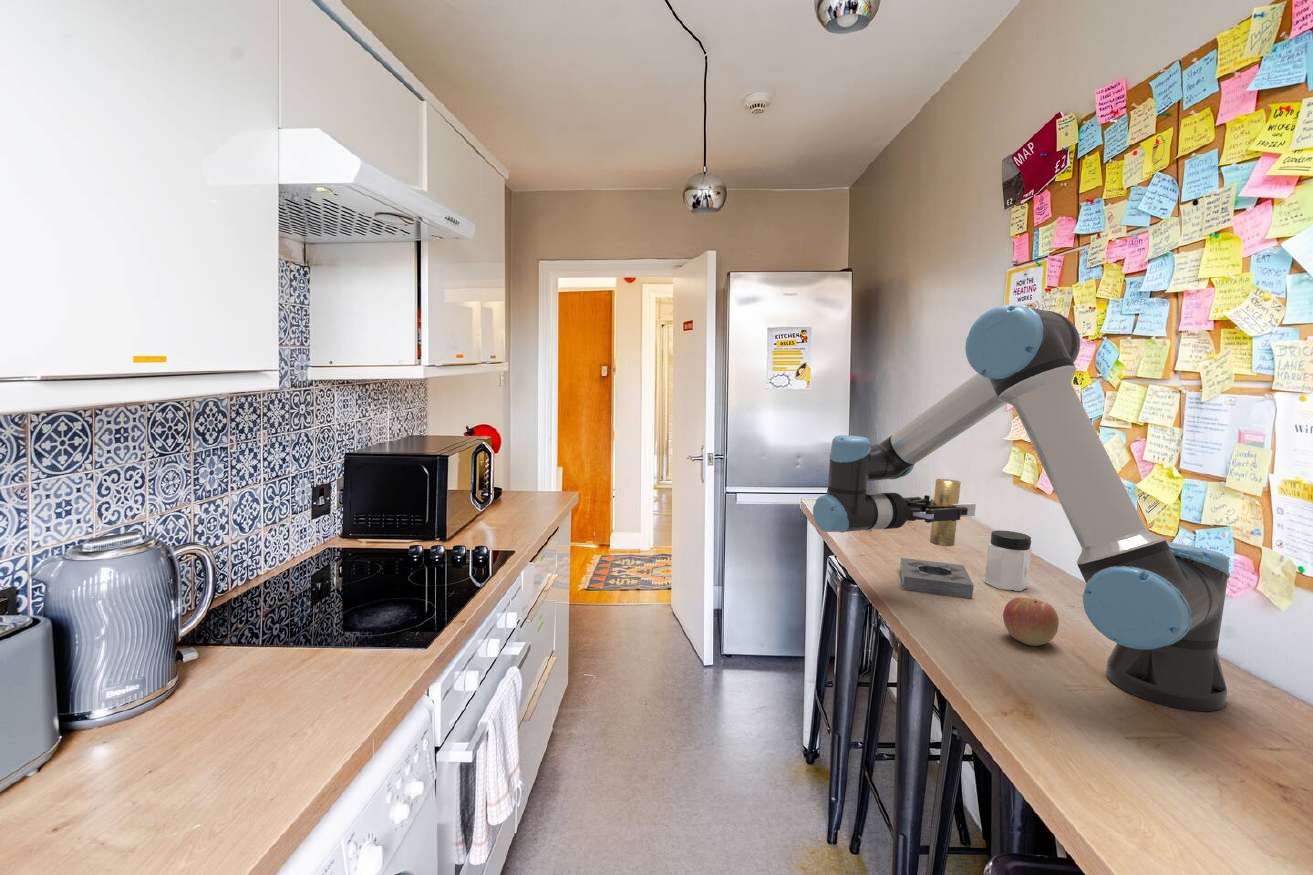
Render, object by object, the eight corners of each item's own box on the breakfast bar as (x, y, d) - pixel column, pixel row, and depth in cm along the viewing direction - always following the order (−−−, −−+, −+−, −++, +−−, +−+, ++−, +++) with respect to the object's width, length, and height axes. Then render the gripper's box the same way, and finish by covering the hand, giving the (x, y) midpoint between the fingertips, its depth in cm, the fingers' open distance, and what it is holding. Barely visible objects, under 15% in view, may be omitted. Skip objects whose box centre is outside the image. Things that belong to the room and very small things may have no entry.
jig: (972, 598, 146) (973, 585, 146) (903, 589, 150) (904, 576, 150) (962, 577, 161) (963, 565, 161) (899, 569, 165) (900, 557, 165)
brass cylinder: (955, 547, 147) (962, 483, 146) (931, 544, 148) (937, 481, 147) (952, 541, 152) (958, 480, 150) (928, 539, 153) (934, 478, 152)
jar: (1018, 594, 151) (1023, 541, 149) (980, 584, 157) (985, 533, 155) (1031, 586, 157) (1037, 535, 156) (994, 577, 163) (999, 528, 161)
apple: (1023, 652, 118) (1028, 608, 118) (990, 632, 127) (994, 591, 126) (1067, 651, 120) (1072, 607, 119) (1031, 631, 129) (1035, 590, 128)
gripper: (851, 518, 151) (930, 514, 160) (912, 539, 134) (996, 533, 144) (854, 485, 150) (933, 482, 159) (915, 502, 133) (999, 498, 143)
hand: (963, 506), depth 151 cm, fingers closed on brass cylinder, 5 cm apart
